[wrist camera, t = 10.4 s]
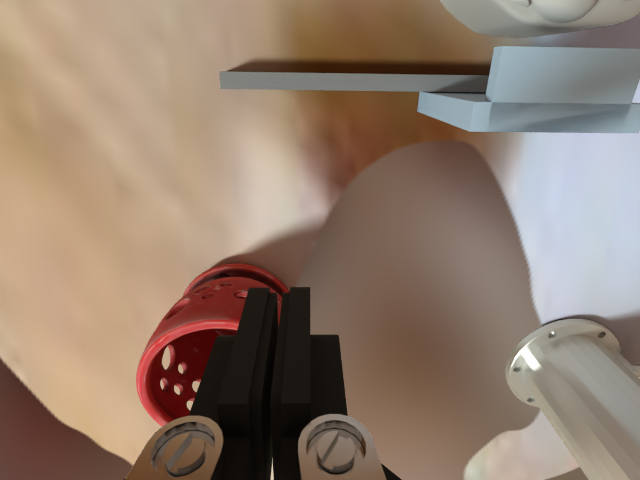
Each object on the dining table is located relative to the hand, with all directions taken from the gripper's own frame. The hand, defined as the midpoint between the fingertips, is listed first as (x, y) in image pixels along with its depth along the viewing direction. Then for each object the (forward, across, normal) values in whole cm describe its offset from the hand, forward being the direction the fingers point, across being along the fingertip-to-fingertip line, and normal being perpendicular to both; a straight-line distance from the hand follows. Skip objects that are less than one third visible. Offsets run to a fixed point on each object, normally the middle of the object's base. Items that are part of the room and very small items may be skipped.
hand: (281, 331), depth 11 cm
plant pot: (+25, +6, +16) cm, 31 cm away
